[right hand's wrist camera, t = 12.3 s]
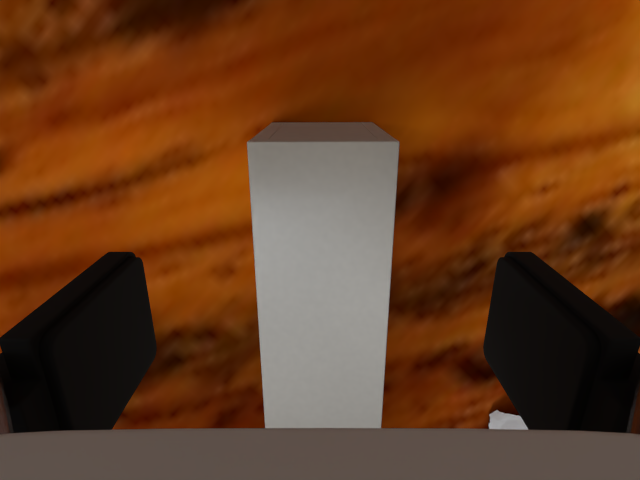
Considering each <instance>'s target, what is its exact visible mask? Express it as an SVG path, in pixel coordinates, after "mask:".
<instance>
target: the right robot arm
mask: <svg viewBox="0 0 640 480" xmlns="http://www.w3.org/2000/svg"><path fill="white" fill-rule="evenodd" d="M0 346H1V349H2V353H1V354H0V480H640V354H639V353H638V349H639V346H640V337H638V336H637V335H636V334H635V333H633V332H632V331H631V330H630V329H628V328H627V327H626V326H625V325H623V324H622V323H621V322H619V321H618V320H617V319H616V318H614V317H613V316H612V315H611V314H609V313H608V312H607V311H606V310H604V309H603V308H602V307H600V306H599V305H598V304H597V303H595V302H594V301H593V300H592V299H590V298H589V297H588V296H587V295H585V294H584V293H583V292H582V291H580V290H579V289H578V288H576V287H575V286H574V285H573V284H571V283H570V282H569V281H568V280H566V279H565V278H564V277H563V276H561V275H560V274H559V273H558V272H556V271H555V270H554V269H552V268H551V267H550V266H549V265H547V264H546V263H545V262H544V261H542V260H541V259H540V258H539V257H537V256H536V255H535V254H533V253H532V252H508V253H507V254H506V255H505V257H501V258H499V260H498V262H497V267H496V273H495V279H494V285H493V291H492V297H491V303H490V309H489V315H488V321H487V328H486V334H485V340H484V355H485V358H486V360H487V362H488V363H489V365H490V367H491V368H492V370H493V372H494V373H495V375H496V377H497V378H498V380H499V382H500V383H501V385H502V387H503V388H504V390H505V392H506V393H507V395H508V396H509V398H510V400H511V401H512V403H513V405H514V406H515V408H516V410H517V411H518V413H519V415H520V416H521V418H522V420H523V421H524V423H525V425H526V426H527V428H528V430H515V429H436V428H204V429H125V430H112V428H113V426H114V425H115V423H116V421H117V420H118V418H119V416H120V415H121V413H122V411H123V410H124V408H125V406H126V405H127V403H128V401H129V400H130V398H131V396H132V395H133V393H134V392H135V390H136V388H137V387H138V385H139V383H140V382H141V380H142V378H143V377H144V375H145V373H146V372H147V370H148V368H149V367H150V365H151V363H152V362H153V360H154V358H155V355H156V340H155V334H154V328H153V321H152V315H151V309H150V303H149V297H148V291H147V285H146V279H145V273H144V267H143V262H142V260H141V258H139V257H135V255H134V254H133V253H132V252H108V253H107V254H105V255H104V256H103V257H101V258H100V259H99V260H98V261H96V262H95V263H94V264H93V265H91V266H90V267H89V268H88V269H86V270H85V271H84V272H82V273H81V274H80V275H79V276H77V277H76V278H75V279H74V280H72V281H71V282H70V283H69V284H67V285H66V286H65V287H64V288H62V289H61V290H60V291H58V292H57V293H56V294H55V295H53V296H52V297H51V298H50V299H48V300H47V301H46V302H45V303H43V304H42V305H41V306H40V307H38V308H37V309H36V310H34V311H33V312H32V313H31V314H29V315H28V316H27V317H26V318H24V319H23V320H22V321H21V322H19V323H18V324H17V325H15V326H14V327H13V328H12V329H10V330H9V331H8V332H7V333H5V334H4V335H3V336H2V337H0Z"/></svg>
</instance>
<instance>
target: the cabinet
mask: <svg viewBox="0 0 640 480" xmlns="http://www.w3.org/2000/svg"><path fill="white" fill-rule="evenodd" d="M247 150H248V165H249V181H250V197H251V213H252V228H253V244H254V260H255V275H256V291H257V307H258V323H259V338H260V354H261V370H262V386H263V401H264V417H265V428H381V422H382V406H383V391H384V375H385V360H386V344H387V329H388V313H389V297H390V282H391V266H392V251H393V235H394V220H395V204H396V189H397V173H398V157H399V141H398V140H396V139H395V138H393V137H392V136H391V135H389V134H388V133H386V132H385V131H384V130H382V129H381V128H380V127H378V126H377V125H375V124H374V123H373V122H272V123H271V124H270V125H269V126H267V127H266V128H265V129H264V130H262V131H261V132H260V133H259V134H257V135H256V136H255V137H254V138H252V139H251V140H249V141H248V142H247Z"/></svg>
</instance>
